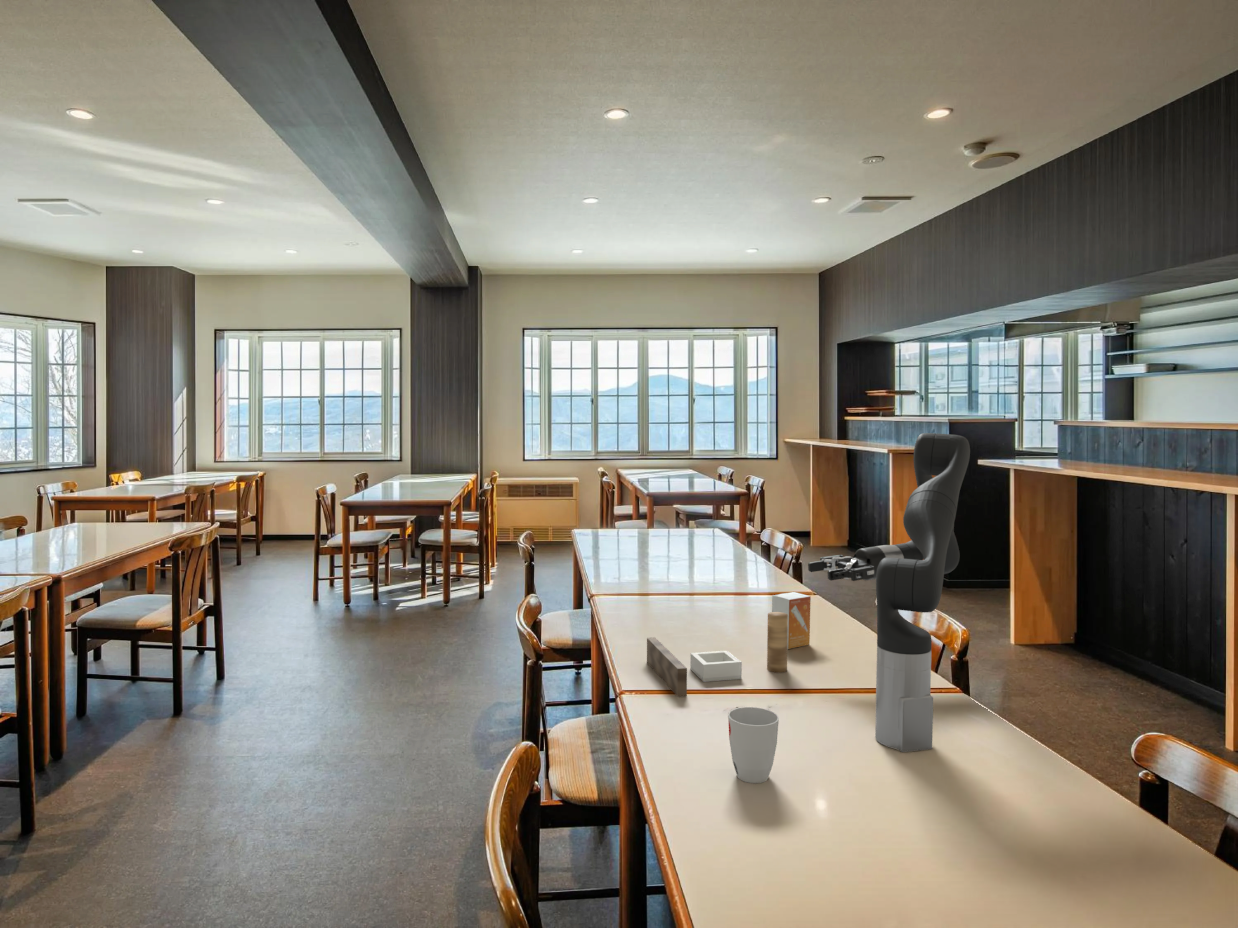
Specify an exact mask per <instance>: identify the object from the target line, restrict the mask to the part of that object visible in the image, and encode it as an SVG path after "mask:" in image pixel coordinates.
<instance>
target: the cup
mask: <svg viewBox="0 0 1238 928" xmlns="http://www.w3.org/2000/svg"><path fill="white" fill-rule="evenodd" d="M727 718H728V740H729V746H730V753H731V759H732V764H733V767H734V770H735V773H736V777H737V778H738V779H739V780H740V781H742V782H745V783H748V784H761V783H764V782H766V781H768V780H769V777H770V774H771V771H772V768H773V765H774V760H775V756H776V755H775V754H776V750H777V745H778V744H777V743H778V732H779V722H780V721H779V720H780V717H779V715H778V714H777V713H775V712H774V711H773V710H769V709H767V708H763V707H756V706H755V707H754V706H744V707H743V706H741V707H736V708H733V709H731V710H729V712H728V714H727Z"/></svg>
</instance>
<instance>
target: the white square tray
mask: <svg viewBox="0 0 1238 928" xmlns="http://www.w3.org/2000/svg"><path fill="white" fill-rule="evenodd" d="M689 657H690V664H689V665H690V666H689V667H690V671H692V672H693V674H694V675H696V676H697V677H698V678H699V679H700V680H701V681H702V682H703V683H704V682H706V683H707V682H717V681H719V682H721V681H730V680H731V681H732V680H742V675H743V673H742V670H743V668H742V667H743V664H742V662H743V661H741V660H740V659H739V658H737V657H736V656H735V655H733V654H732V653H731V652H730V651H729V650H717V651H716V650H715V651H703V652H702V651H700V652H690V656H689Z"/></svg>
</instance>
